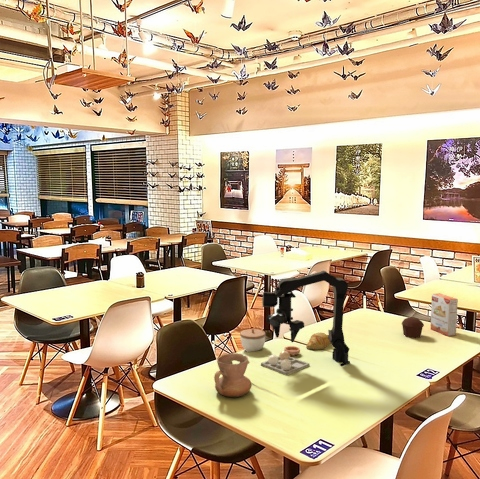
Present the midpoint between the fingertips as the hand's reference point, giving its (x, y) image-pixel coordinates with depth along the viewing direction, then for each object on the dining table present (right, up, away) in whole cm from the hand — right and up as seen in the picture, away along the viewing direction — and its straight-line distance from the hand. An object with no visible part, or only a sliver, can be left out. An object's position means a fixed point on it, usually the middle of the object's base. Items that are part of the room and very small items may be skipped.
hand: (284, 339), depth 211 cm
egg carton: (0, -12, -4) cm, 13 cm away
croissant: (+20, -9, +26) cm, 34 cm away
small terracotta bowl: (+5, -10, +11) cm, 15 cm away
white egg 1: (-6, -11, -4) cm, 13 cm away
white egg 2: (0, -11, -9) cm, 15 cm away
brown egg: (0, -10, +1) cm, 10 cm away
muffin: (+74, -7, +41) cm, 85 cm away
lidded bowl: (-14, -10, +19) cm, 26 cm away
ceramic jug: (-24, -15, -29) cm, 41 cm away
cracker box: (+94, -6, +47) cm, 105 cm away
